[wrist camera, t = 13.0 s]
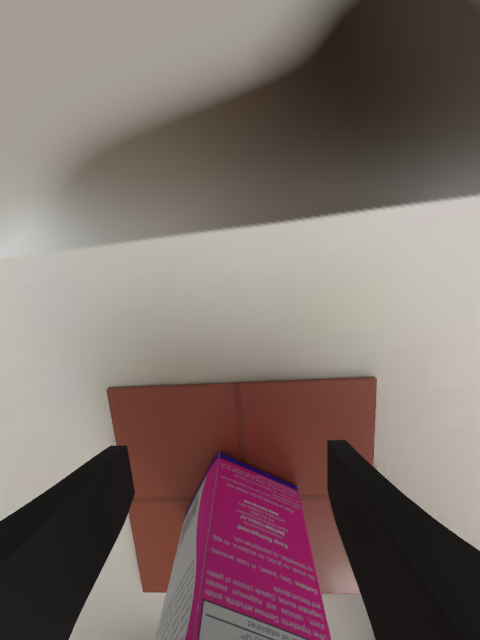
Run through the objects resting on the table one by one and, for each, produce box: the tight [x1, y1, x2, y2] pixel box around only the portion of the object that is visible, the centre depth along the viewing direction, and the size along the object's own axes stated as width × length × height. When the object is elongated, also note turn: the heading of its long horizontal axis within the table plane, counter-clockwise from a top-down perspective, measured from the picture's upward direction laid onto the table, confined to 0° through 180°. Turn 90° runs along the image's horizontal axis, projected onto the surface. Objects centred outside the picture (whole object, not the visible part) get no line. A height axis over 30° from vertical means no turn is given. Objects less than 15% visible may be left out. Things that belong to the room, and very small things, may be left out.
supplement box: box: [155, 452, 331, 640], centre depth 12 cm, size 6×6×12 cm
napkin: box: [107, 377, 377, 594], centre depth 18 cm, size 16×16×1 cm
